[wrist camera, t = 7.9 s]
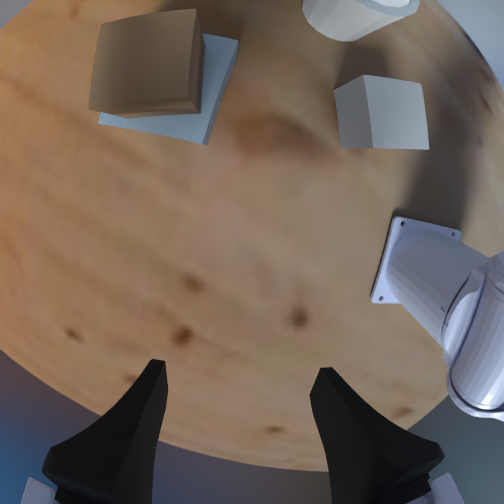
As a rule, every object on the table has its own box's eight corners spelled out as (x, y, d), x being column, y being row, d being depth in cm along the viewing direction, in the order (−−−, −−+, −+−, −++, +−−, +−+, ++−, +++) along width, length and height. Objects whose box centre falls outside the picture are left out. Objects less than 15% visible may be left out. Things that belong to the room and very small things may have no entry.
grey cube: (384, 94, 17) (421, 83, 12) (390, 147, 18) (429, 149, 14) (333, 90, 17) (363, 74, 12) (340, 148, 18) (373, 148, 13)
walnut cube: (205, 46, 12) (196, 8, 8) (200, 113, 14) (187, 97, 9) (133, 53, 12) (101, 24, 7) (127, 118, 13) (88, 109, 9)
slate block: (237, 58, 16) (238, 40, 12) (207, 145, 18) (202, 143, 14) (148, 43, 14) (133, 26, 11) (118, 127, 17) (98, 123, 13)
